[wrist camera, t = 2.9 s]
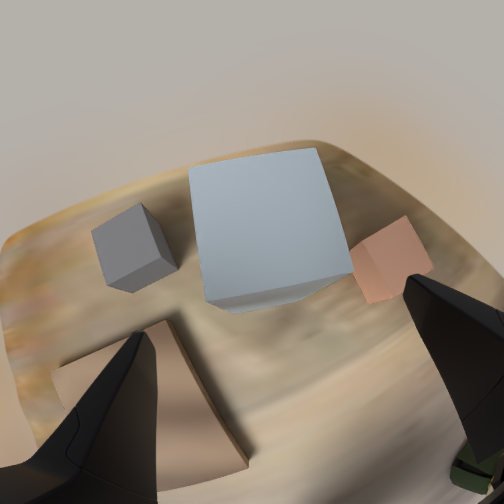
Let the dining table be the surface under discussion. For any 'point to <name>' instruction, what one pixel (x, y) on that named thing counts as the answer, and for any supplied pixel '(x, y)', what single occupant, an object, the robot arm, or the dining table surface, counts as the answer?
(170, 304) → the dining table surface
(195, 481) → the walnut board
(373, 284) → the terracotta block
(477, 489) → the character mug
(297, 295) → the slate block
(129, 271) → the charcoal block
